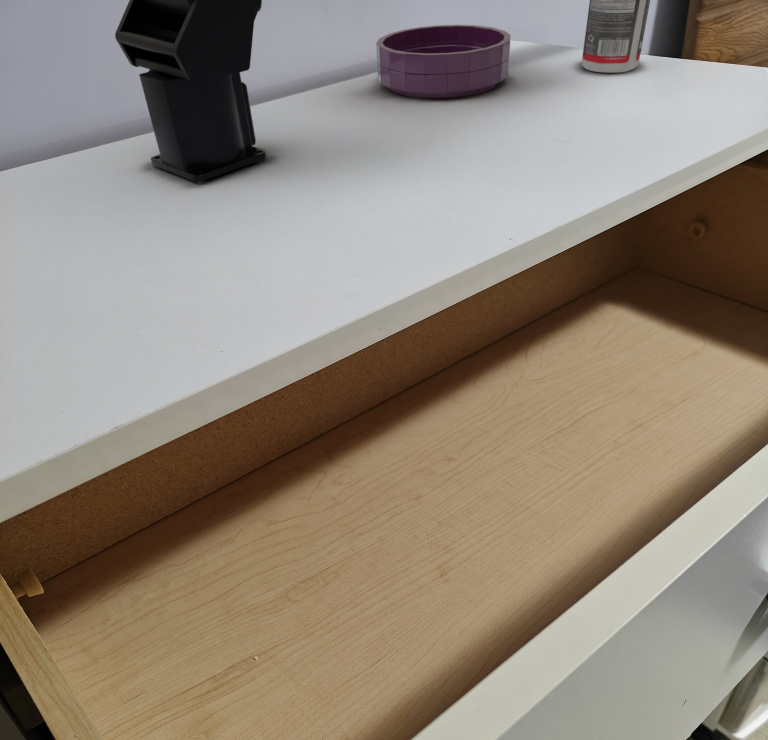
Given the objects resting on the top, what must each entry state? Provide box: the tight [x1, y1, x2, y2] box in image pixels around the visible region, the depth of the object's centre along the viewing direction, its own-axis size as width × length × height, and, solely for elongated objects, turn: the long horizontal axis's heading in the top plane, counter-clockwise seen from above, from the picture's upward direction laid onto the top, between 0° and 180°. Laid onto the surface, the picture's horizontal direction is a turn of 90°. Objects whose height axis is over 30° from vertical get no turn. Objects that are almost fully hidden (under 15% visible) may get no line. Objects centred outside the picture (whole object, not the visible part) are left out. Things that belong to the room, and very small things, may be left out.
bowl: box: [375, 24, 511, 99], centre depth 63 cm, size 12×12×4 cm
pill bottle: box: [581, 0, 651, 74], centre depth 62 cm, size 5×5×10 cm
